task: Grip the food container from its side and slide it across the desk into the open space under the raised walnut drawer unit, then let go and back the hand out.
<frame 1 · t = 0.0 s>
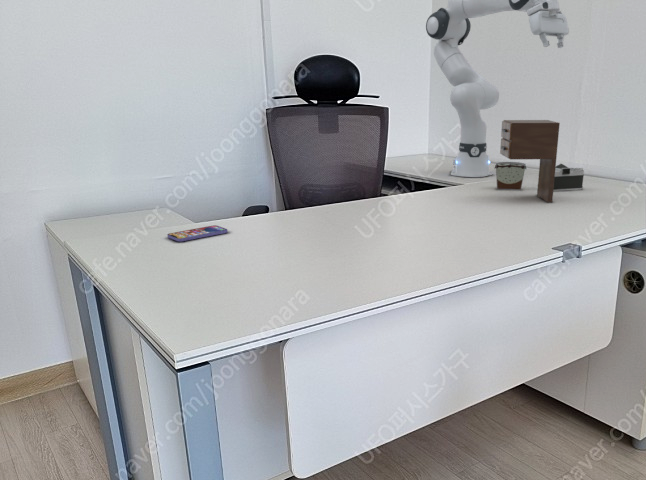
hand: (553, 46, 223), 52 cm above the table, tool tilted 20°, fingers open, 8 cm apart
food container: (508, 188, 235), on the table
camera: (561, 189, 234), on the table
smartphone: (198, 235, 164), on the table
drawer unit: (524, 199, 214), on the table
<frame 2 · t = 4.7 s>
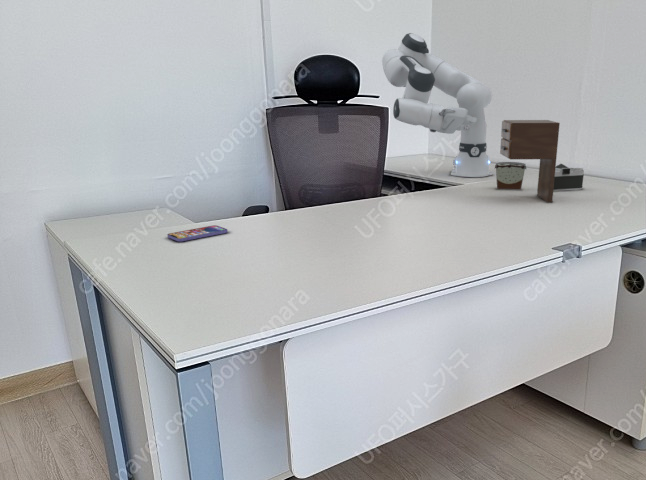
hand: (472, 124, 222), 25 cm above the table, tool horizontal, fingers open, 8 cm apart
nothing on the table moved.
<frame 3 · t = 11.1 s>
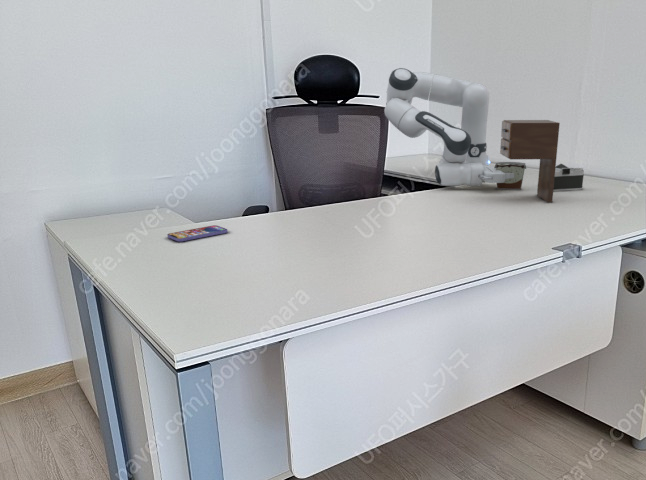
hand: (511, 174, 233), 6 cm above the table, tool horizontal, fingers open, 6 cm apart
food container: (508, 188, 235), on the table, touching gripper
everything else where it was.
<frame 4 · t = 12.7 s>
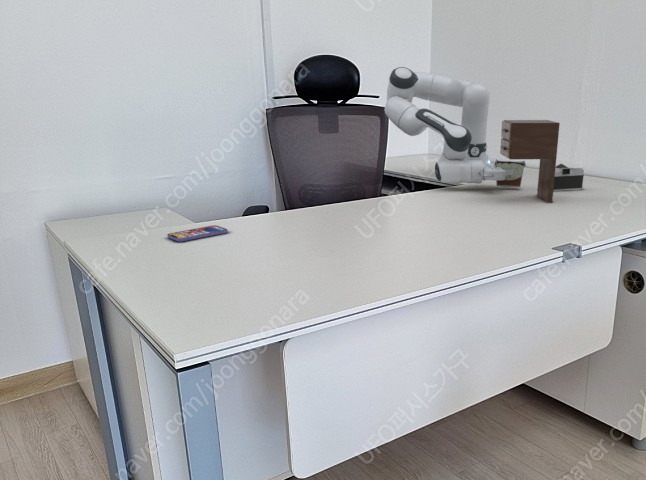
hand: (512, 171, 231), 7 cm above the table, tool horizontal, fingers closed on food container
food container: (506, 187, 234), point 1 cm above the table, touching gripper
everything else where it was.
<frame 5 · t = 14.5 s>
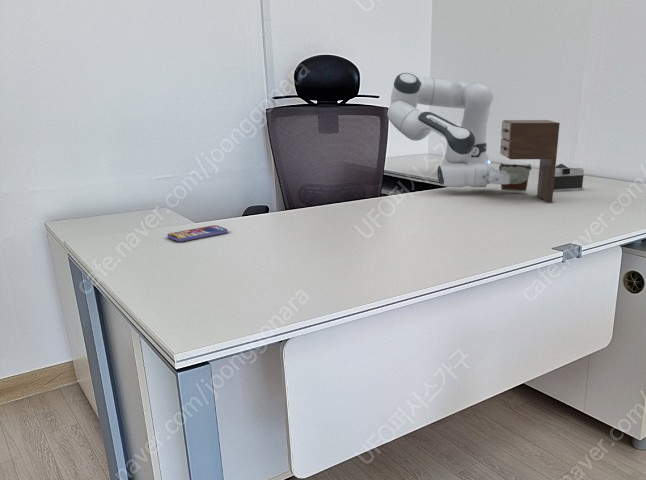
hand: (517, 175, 222), 7 cm above the table, tool horizontal, fingers closed on food container
food container: (511, 191, 226), point 1 cm above the table, touching gripper
everything else where it was.
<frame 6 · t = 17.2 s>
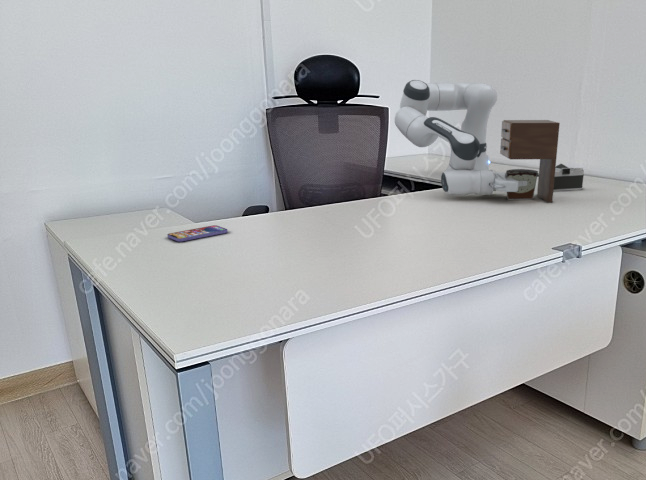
hand: (525, 181, 213), 6 cm above the table, tool horizontal, fingers open, 4 cm apart
food container: (518, 198, 217), on the table
everything else where it was.
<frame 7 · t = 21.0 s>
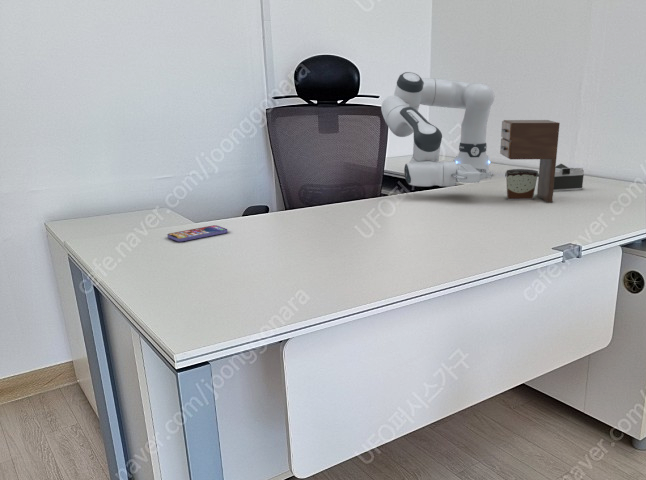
hand: (488, 173, 213), 9 cm above the table, tool horizontal, fingers open, 8 cm apart
nothing on the table moved.
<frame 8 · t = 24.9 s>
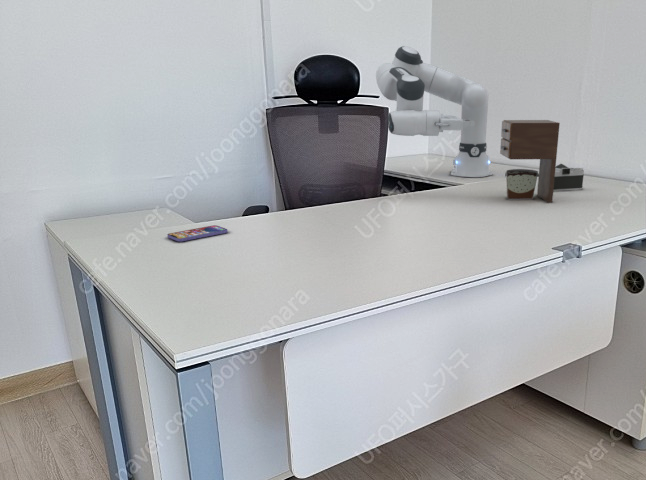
hand: (472, 123, 212), 26 cm above the table, tool horizontal, fingers open, 8 cm apart
nothing on the table moved.
at the end: food container inside the target area on the drawer unit (1.7 cm from its centre), point 0.0 cm above the drawer unit's base; food container tilted 0°; the gripper is holding nothing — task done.
